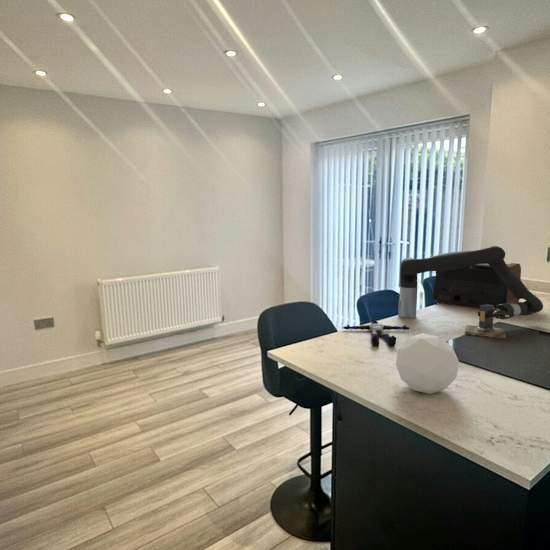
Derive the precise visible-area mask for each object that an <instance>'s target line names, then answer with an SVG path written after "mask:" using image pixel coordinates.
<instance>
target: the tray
mask: <svg viewBox="0 0 550 550" xmlns="http://www.w3.org/2000/svg"><path fill="white" fill-rule="evenodd" d="M467 334H472V335H471V336H475V335H483V336H482V337H484V336H490V337H489V338H493V337H497V338H496V339H501V338H505V339H504V340H506V339H507V335H506V328H501V327H493V328H489V329H483V328H481V327H479V325H473V324H472V325H471V324H466V325H465V329H464V335H467Z"/></svg>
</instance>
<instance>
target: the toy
mask: <svg viewBox="0 0 550 550" xmlns="http://www.w3.org/2000/svg"><path fill="white" fill-rule="evenodd" d="M342 328H343V330H361V331H362V330H363V331H364V330H367V331H370V332H371V334H370V335H371V339H370V341H371V344H372V345H373V347H374V348H378V347H380V338H379V337H381V338H382V340H385V341H386V344H387V345H388V347H389V348H394V347H395V346H396V343H397V337H396V336H394V335H391V336H390V335H389V334H388V333H387V332H386V330H387V331H391V330H397V331H398V330H403V331H408V330H410V326H407V324H404V325H402V326H398V325H394V326H392V325H384V324H383V323H379V322H378V321H377V320H376V319H374V320H372V321H371V323H369V324H367V325H366V324H365V325H353V326H350V325H349V324H346V325H345V326H343V327H342Z"/></svg>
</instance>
